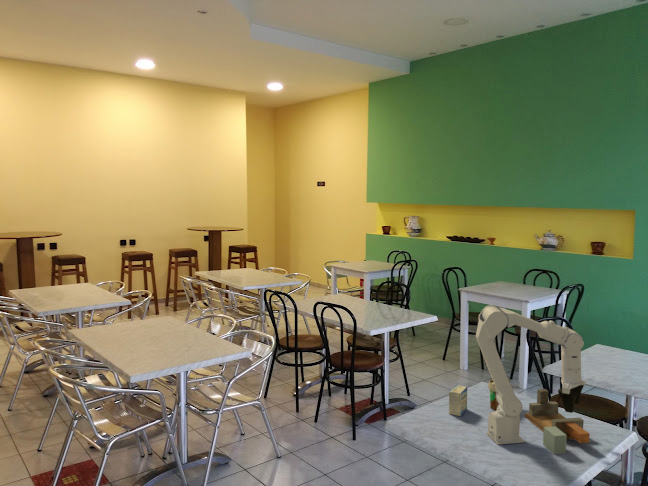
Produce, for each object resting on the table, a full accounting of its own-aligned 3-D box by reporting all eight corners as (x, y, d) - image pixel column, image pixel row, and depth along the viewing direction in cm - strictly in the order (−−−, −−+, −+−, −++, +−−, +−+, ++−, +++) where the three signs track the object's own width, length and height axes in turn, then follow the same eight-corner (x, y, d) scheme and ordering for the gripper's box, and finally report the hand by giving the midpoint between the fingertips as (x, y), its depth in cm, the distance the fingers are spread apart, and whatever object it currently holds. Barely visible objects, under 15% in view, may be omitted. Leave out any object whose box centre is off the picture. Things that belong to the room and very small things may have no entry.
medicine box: (460, 417, 187) (460, 393, 186) (448, 414, 189) (448, 391, 188) (467, 409, 193) (467, 386, 192) (455, 406, 196) (456, 384, 195)
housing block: (553, 454, 160) (554, 436, 159) (542, 445, 166) (543, 427, 165) (565, 453, 161) (566, 435, 160) (554, 444, 166) (555, 426, 166)
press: (553, 440, 169) (555, 411, 168) (524, 416, 186) (525, 390, 185) (587, 438, 170) (589, 408, 169) (555, 414, 188) (556, 388, 187)
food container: (493, 399, 202) (493, 374, 201) (509, 403, 199) (509, 377, 198) (482, 410, 192) (483, 384, 191) (499, 414, 189) (500, 388, 188)
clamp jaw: (570, 445, 162) (570, 433, 161) (551, 431, 171) (552, 419, 171) (599, 443, 163) (599, 431, 163) (579, 428, 173) (579, 417, 172)
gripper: (579, 376, 158) (580, 418, 160) (590, 362, 170) (590, 402, 171) (554, 372, 163) (555, 413, 164) (567, 359, 174) (567, 397, 175)
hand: (572, 407), depth 168 cm, fingers open, 7 cm apart
